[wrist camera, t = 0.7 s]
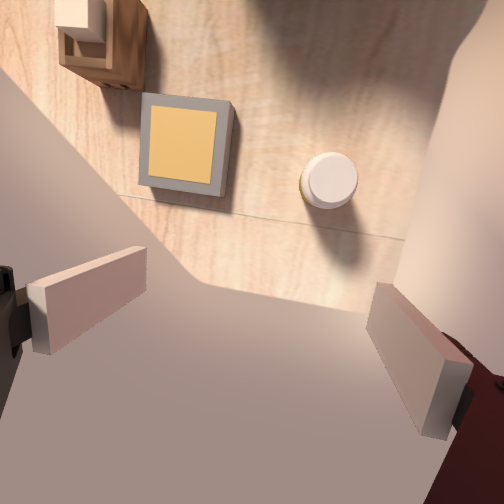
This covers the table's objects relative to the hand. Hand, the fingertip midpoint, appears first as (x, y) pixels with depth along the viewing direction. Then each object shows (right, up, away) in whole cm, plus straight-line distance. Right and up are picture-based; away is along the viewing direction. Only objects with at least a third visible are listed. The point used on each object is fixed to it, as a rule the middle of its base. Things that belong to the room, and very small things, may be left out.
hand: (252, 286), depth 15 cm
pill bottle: (+10, +11, +22) cm, 27 cm away
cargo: (-19, +29, +16) cm, 39 cm away
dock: (-9, +17, +24) cm, 30 cm away
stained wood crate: (-18, +30, +22) cm, 42 cm away
